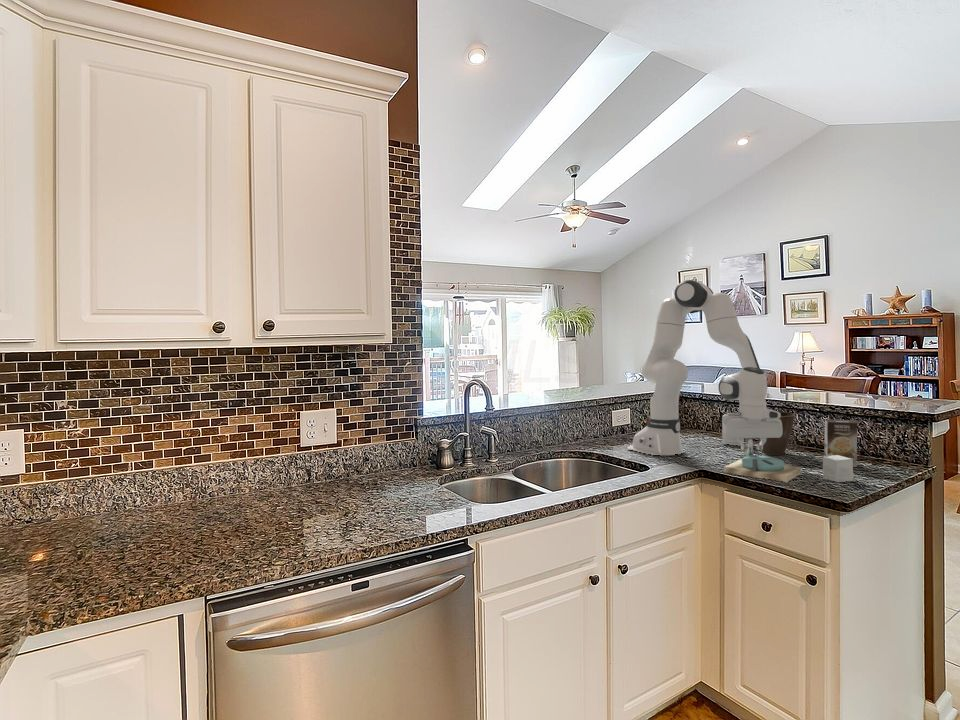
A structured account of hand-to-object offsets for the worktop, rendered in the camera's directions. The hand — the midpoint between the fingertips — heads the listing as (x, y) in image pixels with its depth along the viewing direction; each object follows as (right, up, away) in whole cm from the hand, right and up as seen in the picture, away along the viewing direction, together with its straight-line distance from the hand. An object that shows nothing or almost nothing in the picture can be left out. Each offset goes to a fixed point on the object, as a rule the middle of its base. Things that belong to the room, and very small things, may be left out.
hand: (751, 449), depth 197 cm
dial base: (-1, -7, -10) cm, 12 cm away
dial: (-1, -4, -7) cm, 9 cm away
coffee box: (+30, -5, -3) cm, 31 cm away
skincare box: (+18, -7, -20) cm, 28 cm away
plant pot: (+17, -5, +18) cm, 25 cm away
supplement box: (+11, -4, +38) cm, 40 cm away
